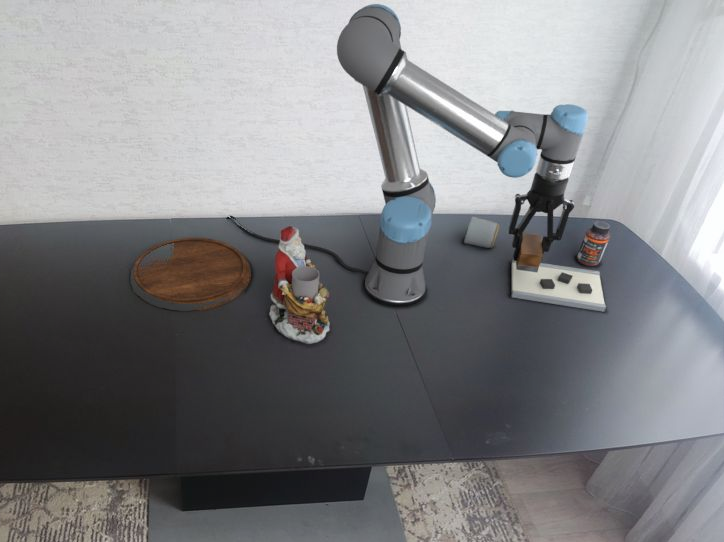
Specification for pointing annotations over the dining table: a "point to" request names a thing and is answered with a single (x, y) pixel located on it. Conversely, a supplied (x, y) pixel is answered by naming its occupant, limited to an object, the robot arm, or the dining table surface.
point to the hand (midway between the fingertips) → (526, 259)
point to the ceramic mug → (481, 232)
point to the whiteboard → (558, 286)
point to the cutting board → (195, 272)
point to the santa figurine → (297, 292)
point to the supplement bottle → (594, 244)
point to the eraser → (530, 253)
